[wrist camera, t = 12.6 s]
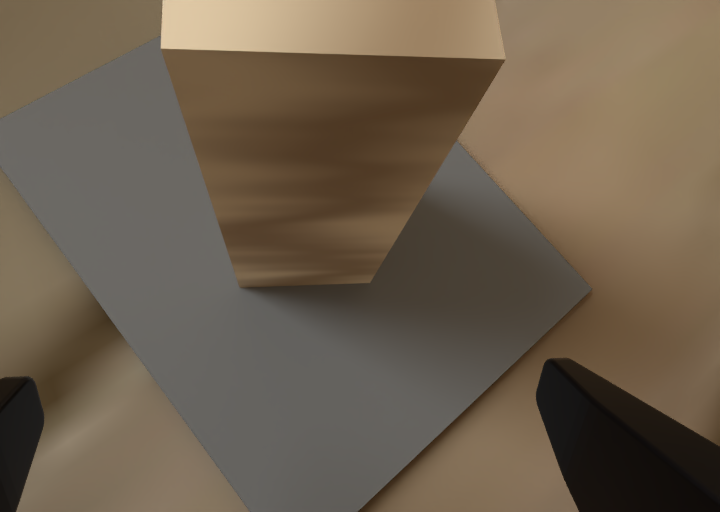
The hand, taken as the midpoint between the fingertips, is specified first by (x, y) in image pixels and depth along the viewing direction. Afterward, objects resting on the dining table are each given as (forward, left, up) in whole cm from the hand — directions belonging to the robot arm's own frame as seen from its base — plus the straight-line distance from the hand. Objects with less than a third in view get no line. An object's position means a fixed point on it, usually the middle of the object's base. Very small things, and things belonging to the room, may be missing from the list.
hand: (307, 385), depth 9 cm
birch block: (+4, +5, -8) cm, 10 cm away
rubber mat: (+4, +5, -8) cm, 11 cm away
